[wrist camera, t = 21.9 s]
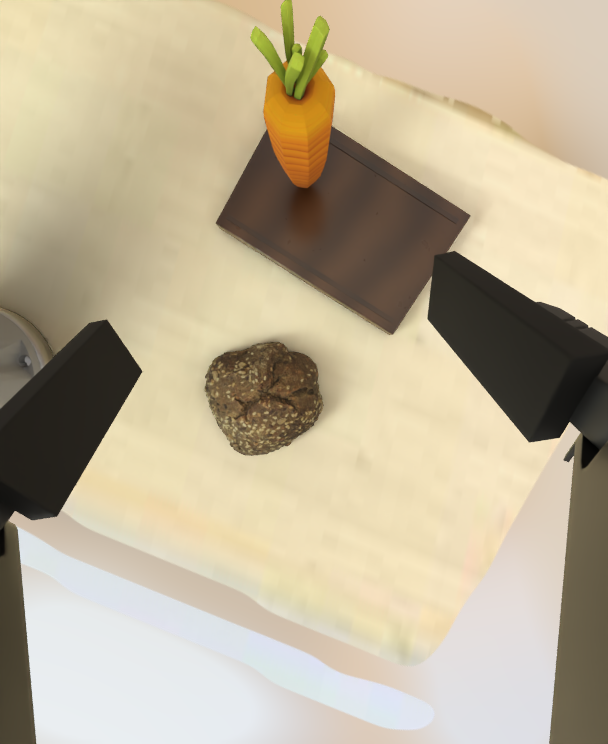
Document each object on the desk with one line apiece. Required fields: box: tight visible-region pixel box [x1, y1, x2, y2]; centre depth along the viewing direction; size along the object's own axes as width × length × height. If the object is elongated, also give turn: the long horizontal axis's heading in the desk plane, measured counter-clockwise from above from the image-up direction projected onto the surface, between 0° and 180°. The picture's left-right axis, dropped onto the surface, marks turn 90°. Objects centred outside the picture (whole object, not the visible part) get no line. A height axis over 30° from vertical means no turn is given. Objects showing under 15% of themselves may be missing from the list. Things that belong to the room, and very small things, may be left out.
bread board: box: [216, 126, 470, 335], centre depth 30 cm, size 22×14×2 cm, turn 58°
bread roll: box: [205, 342, 323, 456], centre depth 31 cm, size 13×12×5 cm
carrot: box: [250, 0, 335, 188], centre depth 22 cm, size 5×5×15 cm
